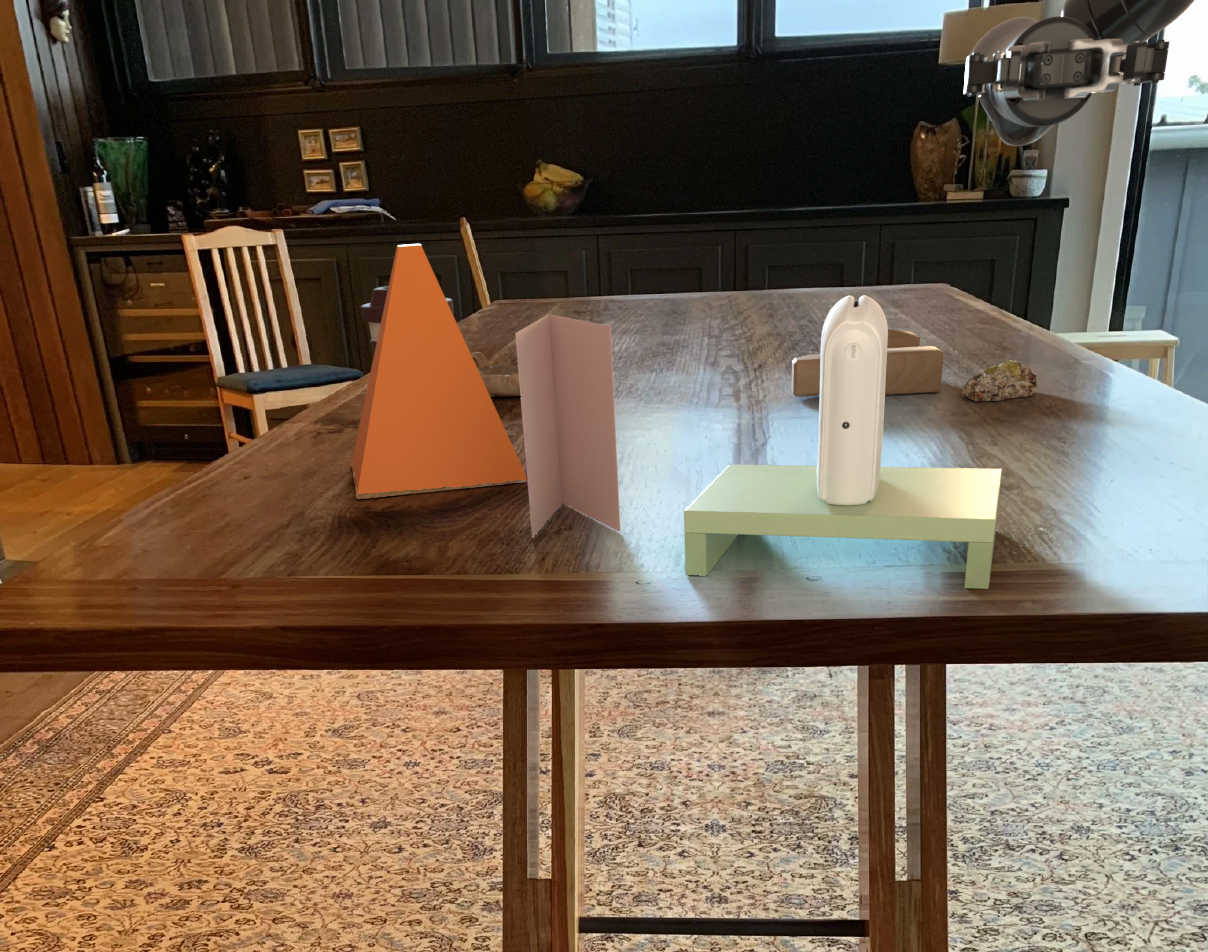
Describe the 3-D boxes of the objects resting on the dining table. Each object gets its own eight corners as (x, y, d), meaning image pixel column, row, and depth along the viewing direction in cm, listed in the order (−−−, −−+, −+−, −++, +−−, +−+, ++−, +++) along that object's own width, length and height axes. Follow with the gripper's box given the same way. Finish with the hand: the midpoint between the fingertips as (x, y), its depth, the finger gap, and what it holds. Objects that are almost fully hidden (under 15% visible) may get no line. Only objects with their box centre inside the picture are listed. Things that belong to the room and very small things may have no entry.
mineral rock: (985, 363, 141) (1049, 347, 135) (991, 401, 142) (1055, 387, 136) (936, 380, 135) (1001, 364, 129) (943, 419, 136) (1008, 405, 130)
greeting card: (552, 502, 102) (538, 314, 95) (638, 501, 101) (630, 311, 94) (521, 540, 92) (503, 333, 85) (616, 539, 91) (605, 329, 84)
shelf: (995, 530, 88) (1002, 468, 86) (988, 589, 76) (995, 519, 74) (729, 522, 94) (729, 464, 92) (685, 575, 82) (683, 510, 80)
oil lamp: (560, 394, 152) (557, 353, 149) (515, 404, 147) (511, 361, 145) (496, 386, 160) (492, 347, 158) (451, 395, 156) (447, 355, 154)
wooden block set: (953, 341, 136) (794, 350, 137) (949, 393, 139) (793, 401, 139) (919, 323, 151) (777, 331, 152) (916, 370, 154) (776, 378, 154)
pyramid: (529, 482, 110) (509, 242, 100) (356, 500, 107) (319, 255, 98) (504, 449, 123) (485, 235, 114) (350, 464, 121) (318, 247, 111)
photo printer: (879, 506, 78) (891, 303, 72) (813, 506, 79) (819, 305, 73) (879, 471, 87) (890, 287, 81) (820, 471, 88) (826, 289, 82)
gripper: (1127, 121, 100) (1174, 118, 86) (950, 131, 102) (968, 130, 88) (1141, 13, 96) (1193, -8, 82) (958, 27, 98) (978, 8, 84)
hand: (1076, 63), depth 85 cm, fingers open, 8 cm apart
